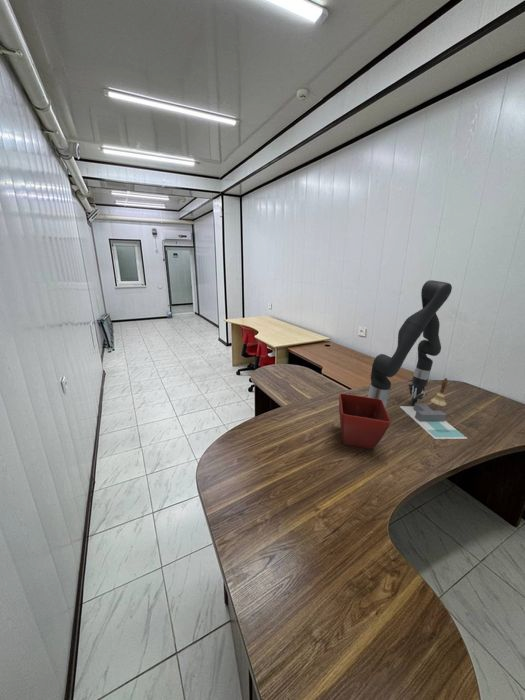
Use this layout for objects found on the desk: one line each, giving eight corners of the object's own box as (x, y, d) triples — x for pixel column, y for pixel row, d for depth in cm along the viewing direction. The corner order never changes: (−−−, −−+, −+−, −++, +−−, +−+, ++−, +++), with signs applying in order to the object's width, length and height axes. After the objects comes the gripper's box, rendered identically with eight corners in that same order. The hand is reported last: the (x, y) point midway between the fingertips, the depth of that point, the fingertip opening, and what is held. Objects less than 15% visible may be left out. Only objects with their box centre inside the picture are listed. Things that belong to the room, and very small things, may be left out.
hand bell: (449, 406, 160) (457, 381, 155) (435, 405, 160) (443, 380, 155) (441, 399, 168) (448, 375, 163) (427, 398, 168) (434, 374, 162)
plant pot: (382, 456, 114) (391, 422, 109) (335, 448, 118) (342, 414, 112) (374, 430, 132) (381, 399, 127) (333, 423, 135) (339, 392, 130)
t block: (419, 421, 142) (421, 414, 140) (405, 409, 153) (407, 402, 152) (444, 421, 143) (446, 414, 142) (429, 409, 155) (430, 402, 153)
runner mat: (434, 439, 129) (434, 438, 128) (399, 406, 156) (399, 406, 156) (467, 439, 131) (467, 438, 130) (426, 406, 158) (427, 406, 158)
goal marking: (435, 437, 130) (435, 437, 129) (416, 420, 143) (416, 420, 143) (465, 437, 131) (466, 437, 131) (444, 420, 145) (444, 420, 145)
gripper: (407, 371, 157) (400, 397, 163) (422, 381, 145) (414, 409, 151) (419, 371, 158) (412, 398, 164) (435, 381, 146) (427, 409, 152)
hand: (413, 403), depth 157 cm, fingers closed
